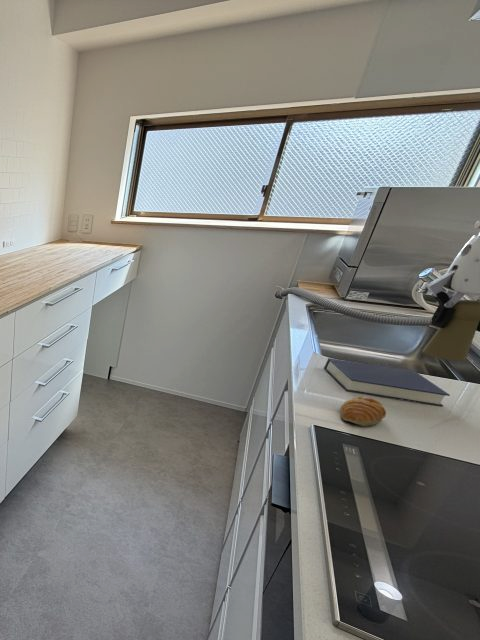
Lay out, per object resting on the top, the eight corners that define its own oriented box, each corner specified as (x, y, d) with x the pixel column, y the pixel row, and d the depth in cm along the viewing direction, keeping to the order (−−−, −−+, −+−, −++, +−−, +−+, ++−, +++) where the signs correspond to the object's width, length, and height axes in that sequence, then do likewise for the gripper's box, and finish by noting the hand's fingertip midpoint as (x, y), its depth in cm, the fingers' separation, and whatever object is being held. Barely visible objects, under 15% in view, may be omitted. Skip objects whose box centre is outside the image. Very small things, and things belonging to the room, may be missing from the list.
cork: (415, 352, 84) (442, 298, 79) (432, 348, 86) (459, 295, 81) (455, 362, 79) (487, 306, 74) (472, 358, 81) (504, 303, 76)
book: (407, 381, 105) (413, 370, 103) (442, 406, 93) (450, 394, 91) (323, 368, 110) (328, 358, 109) (346, 390, 98) (352, 379, 97)
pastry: (372, 433, 81) (381, 416, 79) (330, 418, 86) (338, 402, 84) (383, 419, 86) (392, 403, 84) (343, 406, 91) (351, 390, 89)
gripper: (465, 228, 71) (412, 328, 79) (603, 234, 66) (531, 340, 74) (438, 224, 77) (391, 317, 86) (562, 229, 72) (499, 328, 81)
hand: (457, 327), depth 80 cm, fingers closed on cork, 5 cm apart
